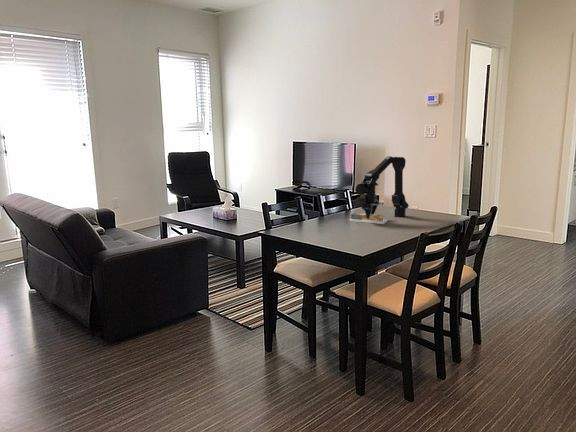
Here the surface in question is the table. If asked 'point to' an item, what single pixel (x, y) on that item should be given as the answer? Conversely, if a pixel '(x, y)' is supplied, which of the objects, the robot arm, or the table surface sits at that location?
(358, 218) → the bracket plate
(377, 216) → the oak rail
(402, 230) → the table surface
